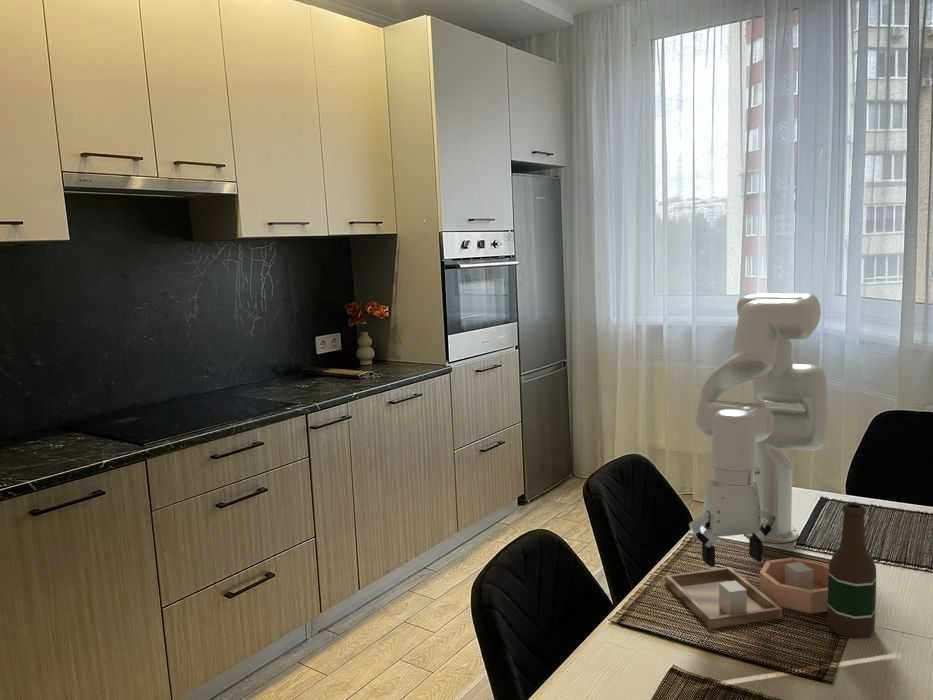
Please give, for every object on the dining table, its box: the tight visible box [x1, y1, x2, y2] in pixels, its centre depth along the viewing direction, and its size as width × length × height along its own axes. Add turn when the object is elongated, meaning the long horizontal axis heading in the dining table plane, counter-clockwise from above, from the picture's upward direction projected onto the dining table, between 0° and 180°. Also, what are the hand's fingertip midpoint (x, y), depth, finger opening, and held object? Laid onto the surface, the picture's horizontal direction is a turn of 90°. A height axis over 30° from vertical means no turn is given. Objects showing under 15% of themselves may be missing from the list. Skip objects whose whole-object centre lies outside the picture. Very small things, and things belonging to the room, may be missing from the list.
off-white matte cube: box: [785, 562, 813, 590], centre depth 146 cm, size 4×4×5 cm
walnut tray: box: [664, 566, 783, 629], centre depth 144 cm, size 19×15×2 cm
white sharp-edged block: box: [719, 581, 747, 614], centre depth 140 cm, size 4×4×5 cm
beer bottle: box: [826, 503, 877, 640], centre depth 130 cm, size 8×8×24 cm
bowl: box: [759, 557, 829, 614], centre depth 145 cm, size 15×15×5 cm
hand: (732, 561), depth 138 cm, fingers open, 9 cm apart
